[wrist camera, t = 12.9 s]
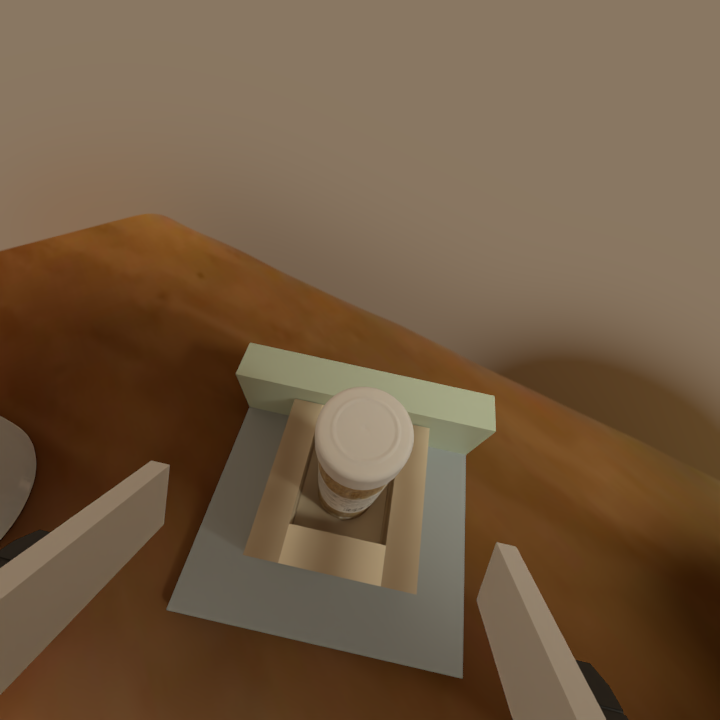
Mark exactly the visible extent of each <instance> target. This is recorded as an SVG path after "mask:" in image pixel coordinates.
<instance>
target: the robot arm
mask: <svg viewBox="0 0 720 720" xmlns="http://www.w3.org/2000/svg"><path fill="white" fill-rule="evenodd" d="M169 469H170V465H168V464H164V463H160V462H156V461H150V462H149V463H147V464H146V465H144V466H143V467H142V468H140V469H139V470H137V471H136V472H135V473H133V474H132V475H130V476H129V477H128V478H126V479H125V480H123V481H122V482H121V483H119V484H118V485H116V486H115V487H114V488H112V489H111V490H109V491H108V492H107V493H105V494H104V495H102V496H101V497H100V498H98V499H97V500H95V501H94V502H92V503H91V504H90V505H88V506H87V507H85V508H84V509H83V510H81V511H80V512H78V513H77V514H76V515H74V516H73V517H71V518H70V519H69V520H67V521H66V522H64V523H63V524H62V525H60V526H59V527H57V528H56V529H55V530H53V531H52V532H47V531H43V530H38V531H35V532H33V533H31V534H28V535H26V536H24V537H22V538H19V539H17V540H15V541H13V542H12V543H10V544H9V545H7V546H6V547H4V548H3V549H1V550H0V695H1V694H2V692H3V691H4V690H5V689H6V688H7V687H8V686H9V685H10V684H11V683H12V682H13V681H14V680H15V679H16V678H17V677H18V676H19V675H20V674H21V673H22V672H23V671H24V670H25V669H26V667H27V666H28V665H29V664H30V663H31V662H32V661H33V660H34V659H35V658H36V657H37V656H38V655H39V654H40V653H41V652H42V651H43V650H44V649H45V648H46V647H47V646H48V645H49V643H50V642H51V641H52V640H53V639H54V638H55V637H56V636H57V635H58V634H59V633H60V632H61V631H62V630H63V629H64V628H65V627H66V626H67V625H68V624H69V623H70V622H71V621H72V620H73V618H74V617H75V616H76V615H77V614H78V613H79V612H80V611H81V610H82V609H83V608H84V607H85V606H86V605H87V604H88V603H89V602H90V601H91V600H92V599H93V598H94V597H95V596H96V595H97V593H98V592H99V591H100V590H101V589H102V588H103V587H104V586H105V585H106V584H107V583H108V582H109V581H110V580H111V579H112V578H113V577H114V576H115V575H116V574H117V573H118V572H119V571H120V570H121V568H122V567H123V566H124V565H125V564H126V563H127V562H128V561H129V560H130V559H131V558H132V557H133V556H134V555H135V554H136V553H137V552H138V551H139V550H140V549H141V548H142V547H143V546H144V545H145V543H146V542H147V541H148V540H149V539H150V538H151V537H152V536H153V535H154V534H155V533H156V532H157V531H158V530H159V529H160V528H161V527H162V526H163V525H164V518H165V509H166V499H167V489H168V479H169ZM477 603H478V607H479V610H480V613H481V617H482V620H483V623H484V627H485V630H486V633H487V637H488V640H489V643H490V647H491V650H492V653H493V656H494V660H495V663H496V666H497V670H498V673H499V676H500V680H501V683H502V686H503V690H504V693H505V696H506V700H507V703H508V706H509V709H510V713H511V716H512V719H513V720H628V718H627V716H626V715H624V714H623V710H622V708H621V706H620V704H619V703H618V701H617V699H616V697H615V696H614V694H613V692H612V690H611V689H610V687H609V685H608V684H607V683H606V682H605V681H604V679H603V678H602V677H601V676H600V675H599V674H598V672H597V671H596V670H595V669H594V668H593V667H592V665H591V664H590V663H586V662H582V661H578V660H575V659H574V657H573V655H572V653H571V651H570V649H569V647H568V645H567V643H566V641H565V639H564V638H563V636H562V634H561V632H560V630H559V628H558V626H557V624H556V622H555V620H554V618H553V616H552V615H551V613H550V611H549V609H548V607H547V605H546V603H545V601H544V599H543V597H542V595H541V593H540V592H539V590H538V588H537V586H536V584H535V582H534V580H533V578H532V576H531V574H530V572H529V571H528V569H527V567H526V565H525V563H524V561H523V559H522V557H521V555H520V553H519V551H518V549H517V548H516V547H515V546H511V545H506V544H502V543H498V542H496V545H495V548H494V551H493V554H492V557H491V559H490V562H489V565H488V568H487V571H486V574H485V577H484V580H483V583H482V585H481V588H480V591H479V594H478V597H477Z"/></svg>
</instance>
